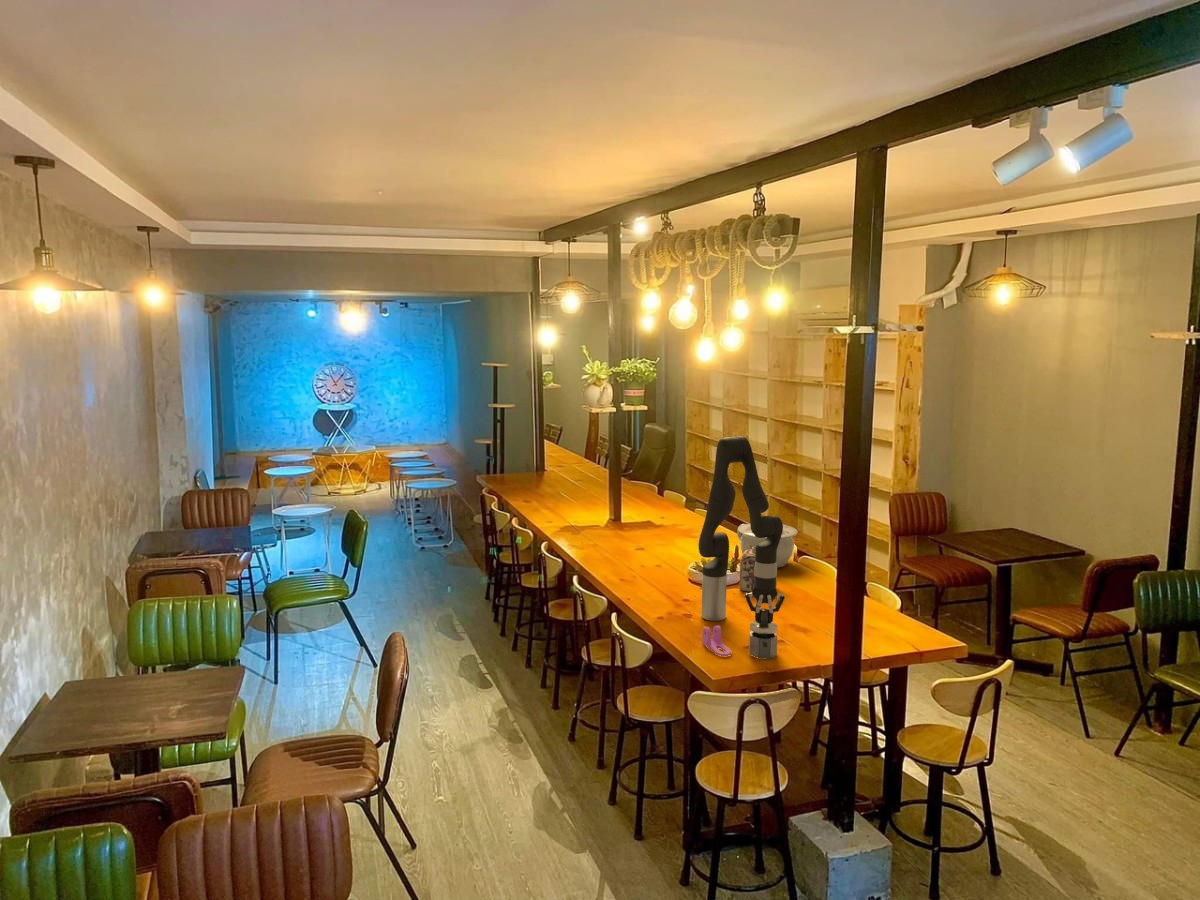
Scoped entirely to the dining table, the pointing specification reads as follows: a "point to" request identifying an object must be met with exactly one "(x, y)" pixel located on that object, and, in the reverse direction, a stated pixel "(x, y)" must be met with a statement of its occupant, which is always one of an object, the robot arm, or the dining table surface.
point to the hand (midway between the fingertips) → (763, 622)
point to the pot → (763, 645)
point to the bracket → (715, 641)
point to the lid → (764, 623)
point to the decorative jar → (747, 570)
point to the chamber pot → (751, 540)
